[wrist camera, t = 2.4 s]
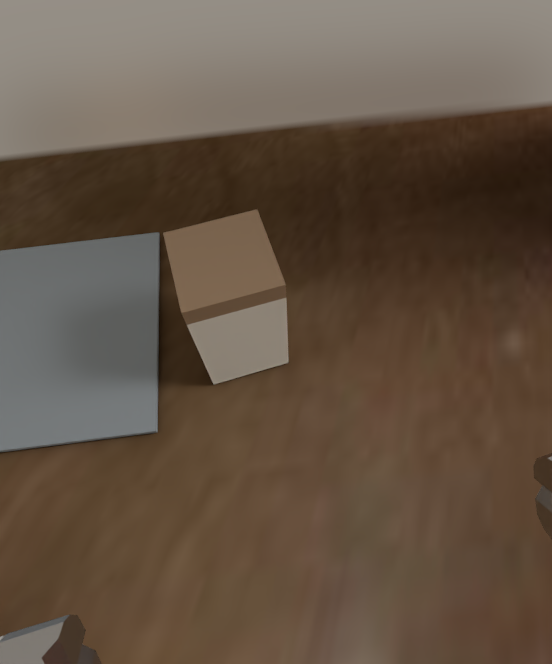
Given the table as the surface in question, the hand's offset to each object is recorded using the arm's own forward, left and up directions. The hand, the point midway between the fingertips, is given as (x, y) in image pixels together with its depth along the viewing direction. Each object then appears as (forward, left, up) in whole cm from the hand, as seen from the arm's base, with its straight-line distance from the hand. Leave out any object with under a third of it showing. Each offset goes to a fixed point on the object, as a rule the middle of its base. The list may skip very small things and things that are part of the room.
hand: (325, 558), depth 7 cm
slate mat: (+14, -14, -15) cm, 25 cm away
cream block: (+2, -12, -15) cm, 19 cm away
